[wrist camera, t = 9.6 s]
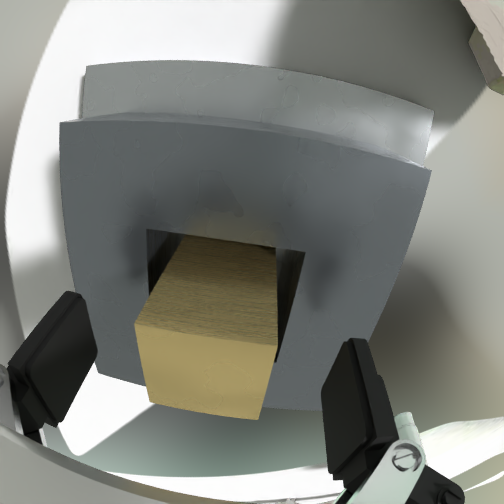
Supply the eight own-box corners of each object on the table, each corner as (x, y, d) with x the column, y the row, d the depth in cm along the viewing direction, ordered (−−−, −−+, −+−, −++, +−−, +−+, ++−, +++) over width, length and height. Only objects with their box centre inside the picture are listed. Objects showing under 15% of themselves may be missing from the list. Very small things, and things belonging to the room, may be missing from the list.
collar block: (96, 67, 14) (17, 62, 8) (425, 110, 14) (501, 122, 8) (108, 325, 23) (72, 387, 17) (342, 361, 23) (356, 433, 17)
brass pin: (203, 205, 17) (134, 323, 8) (275, 214, 17) (277, 346, 8) (200, 267, 19) (149, 401, 10) (265, 276, 19) (257, 420, 10)
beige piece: (330, -13, 14) (423, 155, 10) (354, -107, 6) (549, 2, 2) (487, 39, 15) (569, 180, 11) (525, -17, 7) (638, 130, 3)
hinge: (368, 410, 27) (385, 491, 18) (415, 395, 26) (439, 472, 17) (374, 454, 33) (383, 512, 24) (409, 443, 32) (423, 500, 23)
